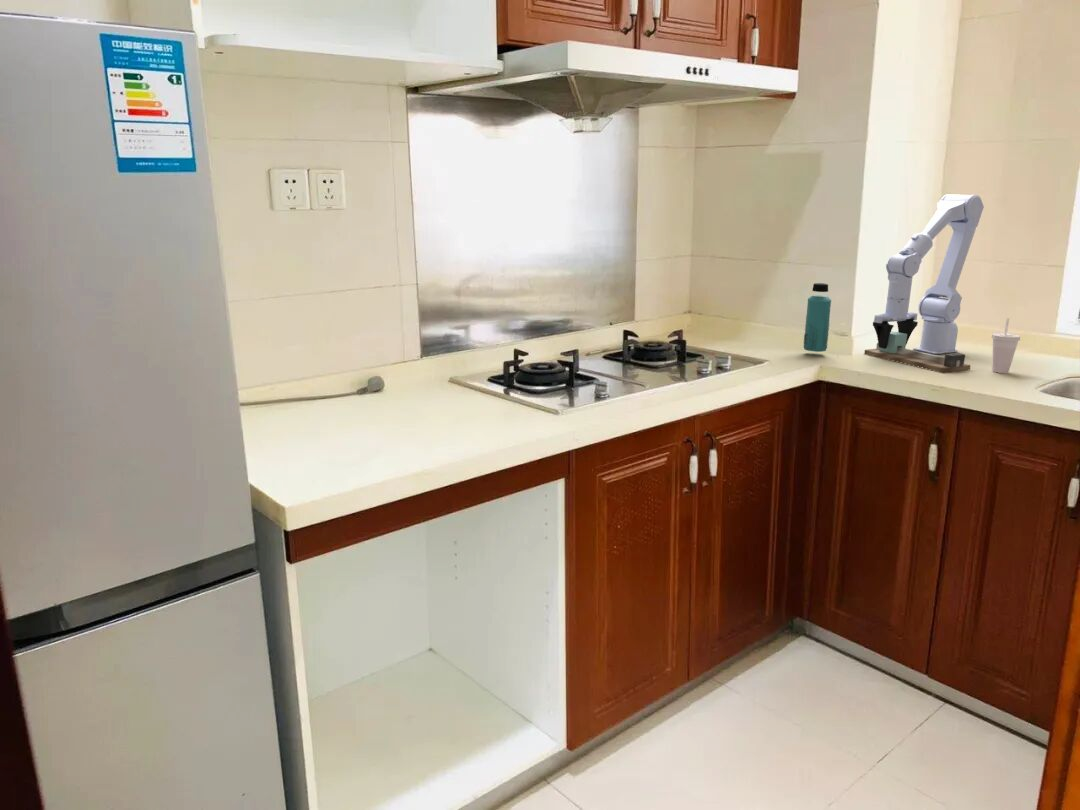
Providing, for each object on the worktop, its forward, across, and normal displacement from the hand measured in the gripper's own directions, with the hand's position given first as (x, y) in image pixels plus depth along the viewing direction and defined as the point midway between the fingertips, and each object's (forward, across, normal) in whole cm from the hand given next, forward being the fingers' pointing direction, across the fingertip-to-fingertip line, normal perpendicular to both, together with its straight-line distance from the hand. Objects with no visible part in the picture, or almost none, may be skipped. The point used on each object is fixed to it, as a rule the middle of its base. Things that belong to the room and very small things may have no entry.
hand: (892, 347), depth 230 cm
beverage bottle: (+3, -19, +10) cm, 22 cm away
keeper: (+1, 0, 0) cm, 1 cm away
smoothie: (+3, +10, -26) cm, 28 cm away
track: (+2, 0, -8) cm, 8 cm away
